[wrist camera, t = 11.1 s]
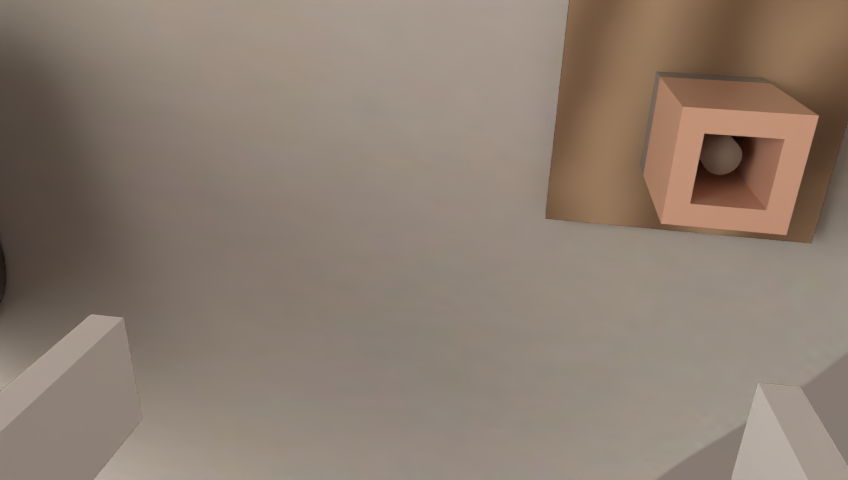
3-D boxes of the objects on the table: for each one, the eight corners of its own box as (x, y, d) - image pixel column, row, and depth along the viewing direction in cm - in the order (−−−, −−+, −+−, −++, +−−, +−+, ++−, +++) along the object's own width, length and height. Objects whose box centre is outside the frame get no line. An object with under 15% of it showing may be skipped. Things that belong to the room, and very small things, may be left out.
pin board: (545, 209, 39) (543, 264, 32) (596, -247, 30) (607, -302, 23) (802, 232, 37) (856, 297, 30) (939, -251, 28) (1061, -312, 21)
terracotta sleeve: (640, 166, 36) (661, 223, 28) (655, 71, 34) (682, 106, 26) (739, 174, 35) (786, 234, 28) (761, 77, 33) (819, 115, 26)
